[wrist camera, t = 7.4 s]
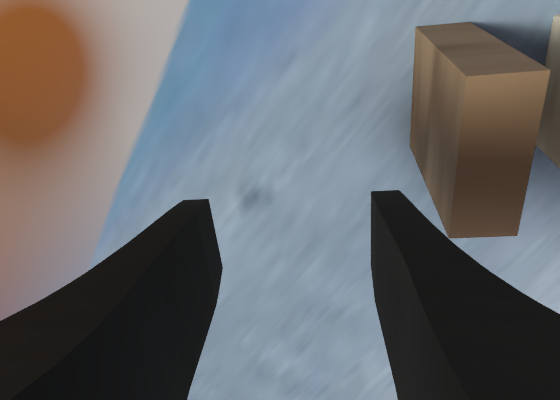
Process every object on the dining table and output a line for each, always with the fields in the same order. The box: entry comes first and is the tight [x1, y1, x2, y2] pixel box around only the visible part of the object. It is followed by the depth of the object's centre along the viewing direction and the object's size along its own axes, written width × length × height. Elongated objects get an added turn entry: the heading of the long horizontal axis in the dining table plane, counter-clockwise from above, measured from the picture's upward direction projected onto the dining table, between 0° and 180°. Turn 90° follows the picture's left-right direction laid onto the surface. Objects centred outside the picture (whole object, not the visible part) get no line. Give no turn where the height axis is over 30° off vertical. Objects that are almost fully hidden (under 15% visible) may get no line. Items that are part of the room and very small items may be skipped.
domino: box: [410, 22, 551, 238], centre depth 15 cm, size 5×2×7 cm, turn 6°
